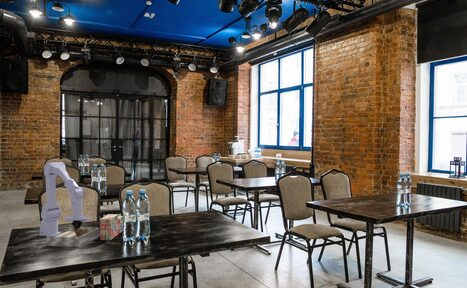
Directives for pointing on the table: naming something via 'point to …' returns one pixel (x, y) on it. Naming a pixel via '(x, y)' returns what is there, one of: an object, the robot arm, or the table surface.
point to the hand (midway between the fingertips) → (77, 233)
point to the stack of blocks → (110, 226)
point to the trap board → (73, 238)
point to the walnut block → (81, 231)
